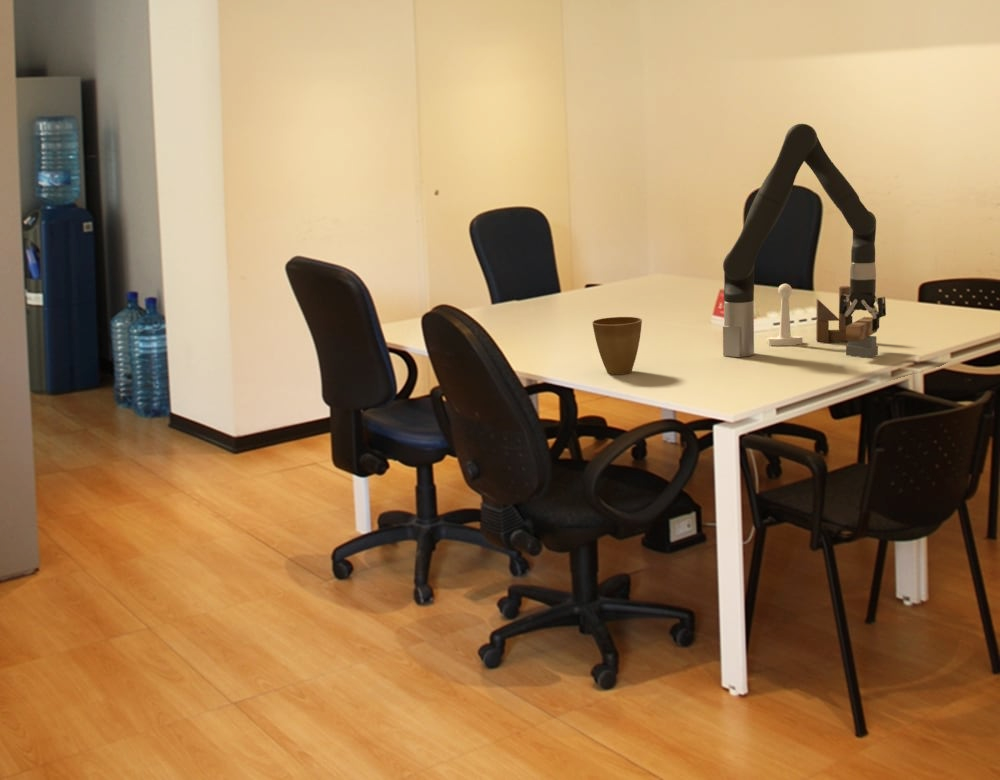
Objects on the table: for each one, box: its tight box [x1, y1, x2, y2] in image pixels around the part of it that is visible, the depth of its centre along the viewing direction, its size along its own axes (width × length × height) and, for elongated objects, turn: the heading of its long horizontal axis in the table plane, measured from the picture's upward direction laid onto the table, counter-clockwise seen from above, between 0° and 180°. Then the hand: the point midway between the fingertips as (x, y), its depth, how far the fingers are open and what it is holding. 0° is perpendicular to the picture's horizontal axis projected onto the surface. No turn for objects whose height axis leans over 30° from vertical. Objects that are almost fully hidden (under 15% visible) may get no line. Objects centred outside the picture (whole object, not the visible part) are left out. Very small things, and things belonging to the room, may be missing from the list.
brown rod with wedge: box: [815, 285, 851, 343], centre depth 408 cm, size 4×11×18 cm, turn 82°
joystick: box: [766, 283, 803, 346], centre depth 408 cm, size 11×8×20 cm
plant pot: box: [591, 316, 643, 375], centre depth 377 cm, size 15×15×16 cm
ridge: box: [845, 335, 879, 359], centre depth 385 cm, size 5×8×6 cm, turn 45°
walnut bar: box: [846, 316, 878, 342], centre depth 384 cm, size 18×4×4 cm, turn 146°
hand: (862, 329), depth 384 cm, fingers open, 8 cm apart
